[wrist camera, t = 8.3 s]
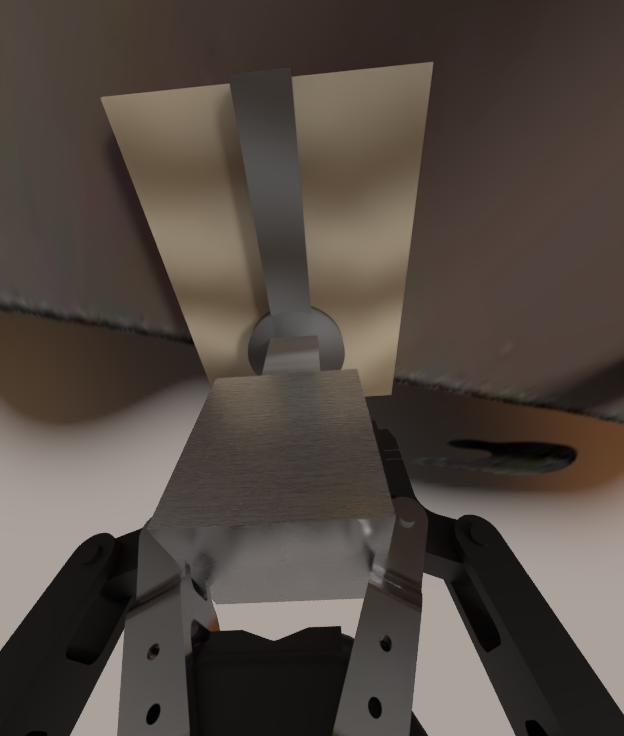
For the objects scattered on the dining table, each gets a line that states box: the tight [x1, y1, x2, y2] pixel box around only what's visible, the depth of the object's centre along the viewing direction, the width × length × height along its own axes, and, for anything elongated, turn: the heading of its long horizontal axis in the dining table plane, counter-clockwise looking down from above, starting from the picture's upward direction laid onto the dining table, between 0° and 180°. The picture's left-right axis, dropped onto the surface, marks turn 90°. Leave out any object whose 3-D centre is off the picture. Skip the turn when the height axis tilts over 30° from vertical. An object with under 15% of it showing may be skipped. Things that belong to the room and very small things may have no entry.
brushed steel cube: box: [147, 369, 396, 604], centre depth 11 cm, size 6×6×6 cm
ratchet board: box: [100, 62, 433, 396], centre depth 15 cm, size 18×14×7 cm
